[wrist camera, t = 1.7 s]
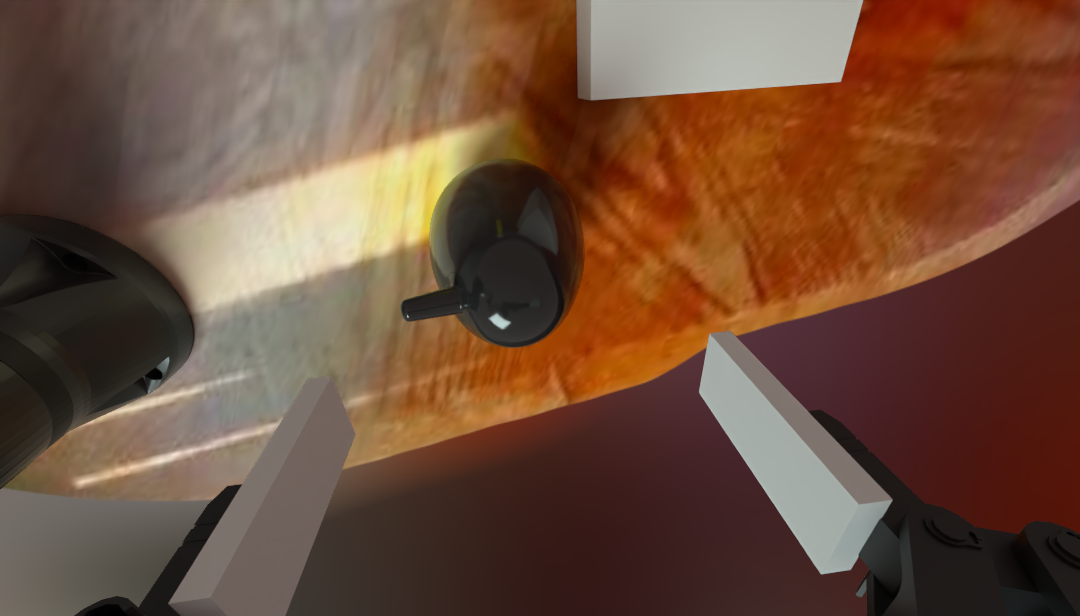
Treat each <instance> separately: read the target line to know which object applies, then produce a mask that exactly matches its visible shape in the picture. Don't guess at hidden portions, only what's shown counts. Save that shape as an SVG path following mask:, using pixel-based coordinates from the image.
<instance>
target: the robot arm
mask: <svg viewBox="0 0 1080 616" xmlns="http://www.w3.org/2000/svg"><path fill="white" fill-rule="evenodd" d="M192 344H193V329H192V324H191V320H190V317H189V314H188V312H187V309H186V307H185V305H184V303H183V302H182V300H181V298H180V297H179V295H178V294H177V292H176V291H175V290H174V288H173V287H172V286H171V285H170V284H169V282H168V281H167V280H166V279H165V278H164V277H163V276H162V275H161V274H160V273H159V272H158V271H157V270H156V269H155V268H154V267H152V266H151V265H150V264H149V263H148V262H146V261H145V260H144V259H142V258H141V257H140V256H138V255H137V254H136V253H134V252H133V251H131V250H129V249H128V248H126V247H125V246H123V245H121V244H119V243H118V242H116V241H114V240H112V239H110V238H108V237H106V236H104V235H102V234H100V233H98V232H95V231H93V230H90V229H88V228H85V227H82V226H79V225H76V224H73V223H70V222H66V221H62V220H58V219H53V218H48V217H41V216H33V215H5V216H0V489H1V488H2V487H4V486H5V485H6V484H7V483H8V482H9V481H11V480H12V479H13V478H14V477H15V476H16V475H18V474H19V473H20V472H21V471H22V470H23V469H25V468H26V467H27V466H28V465H29V464H30V463H32V462H33V461H34V460H35V459H36V458H37V457H39V456H40V455H41V454H42V453H43V452H44V451H45V450H46V449H48V448H49V447H50V446H51V445H52V444H54V443H55V442H56V441H57V440H59V439H60V438H61V437H62V436H64V435H65V434H66V433H67V432H68V431H70V430H72V429H74V428H77V427H79V426H81V425H83V424H85V423H87V422H90V421H92V420H94V419H96V418H98V417H100V416H103V415H105V414H107V413H109V412H111V411H113V410H116V409H118V408H120V407H122V406H124V405H127V404H129V403H131V402H133V401H135V400H137V399H140V398H142V397H144V396H146V395H148V394H150V393H151V392H153V391H154V390H156V389H157V388H159V387H160V386H161V385H163V384H164V383H165V382H166V381H167V380H168V379H169V378H170V377H171V376H172V375H173V374H175V373H176V372H177V371H178V370H179V369H180V368H181V367H182V366H183V364H184V363H185V362H186V360H187V359H188V357H189V354H190V352H191V349H192ZM699 393H700V395H701V396H702V398H703V399H704V401H705V402H706V404H707V405H708V407H709V408H710V410H711V411H712V413H713V414H714V415H715V417H716V419H717V420H718V422H719V423H720V424H721V426H722V427H723V429H724V430H725V432H726V433H727V435H728V436H729V438H730V439H731V441H732V442H733V444H734V445H735V447H736V448H737V450H738V451H739V453H740V454H741V456H742V457H743V459H744V460H745V461H746V463H747V465H748V466H749V468H750V469H751V471H752V472H753V474H754V475H755V476H756V478H757V479H758V481H759V483H760V484H761V485H762V487H763V489H764V490H765V492H766V493H767V494H768V496H769V497H770V499H771V500H772V502H773V503H774V505H775V506H776V508H777V509H778V511H779V512H780V514H781V515H782V517H783V518H784V520H785V521H786V523H787V524H788V526H789V527H790V529H791V530H792V532H793V533H794V535H795V536H796V538H797V539H798V541H799V542H800V544H801V545H802V546H803V548H804V549H805V551H806V552H807V554H808V556H809V557H810V558H811V560H812V561H813V563H814V564H815V566H816V567H817V569H818V570H819V572H820V573H821V574H826V573H832V572H839V571H846V570H851V568H852V566H853V564H854V563H855V561H856V560H857V558H858V557H859V556H860V557H861V559H862V560H863V561H864V563H865V564H866V565H867V567H868V568H869V571H868V572H867V574H866V576H865V577H864V579H863V580H862V582H861V583H860V585H859V586H858V589H857V592H856V595H857V596H859V597H862V596H863V594H864V592H865V591H866V592H867V616H1080V534H1079V533H1077V532H1075V531H1073V530H1071V529H1069V528H1066V527H1063V526H1060V525H1057V524H1054V523H1051V522H1041V521H1035V522H1032V523H1029V524H1027V525H1026V526H1025V527H1024V528H1023V529H1022V530H1021V531H1020V532H1019V533H1018V534H1015V533H1009V532H1003V531H996V530H990V529H984V528H978V527H974V526H973V525H972V524H970V523H969V522H967V521H966V520H965V519H963V518H962V517H960V516H959V515H957V514H955V513H953V512H951V511H949V510H947V509H945V508H942V507H938V506H935V505H931V504H925V503H924V502H923V501H922V500H920V499H919V498H918V497H917V496H916V495H915V494H914V493H913V492H912V491H911V490H910V489H909V488H908V487H907V486H906V485H905V484H904V483H903V482H902V481H901V480H900V479H899V478H898V477H897V476H895V475H894V474H893V473H892V472H891V471H890V470H889V469H888V468H887V467H886V466H885V465H884V464H883V463H882V462H881V461H880V460H879V459H878V458H877V457H876V456H875V455H874V454H873V453H872V452H869V451H868V448H867V447H865V445H863V443H861V442H860V441H859V440H856V438H855V436H854V435H853V434H852V433H851V432H850V431H849V430H848V429H847V428H846V427H845V426H844V425H843V424H842V423H841V422H839V421H838V420H836V419H835V418H833V417H831V416H829V415H828V414H826V413H825V412H823V411H821V410H815V411H807V410H806V409H805V408H804V407H803V406H802V405H801V404H800V403H799V402H798V401H797V400H796V399H795V398H794V397H793V396H792V395H791V393H789V391H787V389H786V388H785V387H784V386H783V385H782V384H781V383H780V382H779V381H778V380H777V379H776V378H775V377H774V376H773V375H772V374H771V373H770V372H769V371H768V370H767V369H766V368H765V367H764V366H763V365H762V363H761V362H760V361H759V360H758V359H757V358H756V357H755V356H754V355H753V354H752V353H751V352H750V351H749V350H748V349H747V348H746V347H745V346H744V345H743V344H742V343H741V342H740V341H739V340H738V339H737V338H736V336H735V335H734V334H733V333H732V332H731V331H728V332H719V333H710V334H709V340H708V345H707V351H706V356H705V362H704V368H703V374H702V379H701V384H700V390H699ZM354 437H355V432H354V429H353V427H352V425H351V422H350V420H349V417H348V415H347V412H346V410H345V408H344V405H343V403H342V400H341V398H340V395H339V393H338V390H337V388H336V386H335V383H334V381H333V378H332V376H328V377H319V378H310V379H308V380H307V381H306V383H305V385H304V386H303V388H302V389H301V391H300V393H299V394H298V396H297V397H296V399H295V401H294V402H293V404H292V405H291V407H290V409H289V410H288V412H287V413H286V415H285V417H284V418H283V420H282V421H281V423H280V425H279V426H278V428H277V430H276V431H275V433H274V434H273V436H272V438H271V439H270V441H269V442H268V444H267V446H266V447H265V449H264V450H263V452H262V454H261V455H260V457H259V458H258V460H257V462H256V463H255V465H254V466H253V468H252V470H251V471H250V473H249V475H248V476H247V478H246V479H245V481H244V483H243V484H241V485H233V486H227V487H226V488H225V489H224V490H223V491H222V492H221V493H220V494H219V495H218V496H217V497H215V498H214V499H213V501H211V502H210V503H209V504H208V505H207V507H206V508H205V510H204V511H203V513H202V514H201V515H200V517H199V518H198V520H197V521H196V523H195V525H194V529H191V530H190V532H189V533H188V535H187V536H186V538H185V539H184V541H183V542H182V543H183V545H182V546H181V547H179V548H178V550H177V551H176V553H175V554H174V556H173V557H172V559H171V560H170V561H169V563H168V564H167V566H166V567H165V569H164V570H163V572H162V573H161V575H160V576H159V578H158V579H157V581H156V582H155V584H154V585H153V587H152V588H151V590H150V591H149V593H148V594H147V596H146V597H145V599H144V600H143V602H142V603H141V604H140V606H139V607H137V606H136V605H135V604H134V603H132V602H131V601H130V600H129V599H128V598H123V597H119V596H116V597H112V598H107V599H103V600H100V601H98V602H96V603H94V604H92V605H91V606H88V607H87V608H85V609H83V610H81V611H80V612H79V613H77V614H76V615H75V616H285V614H286V612H287V609H288V607H289V604H290V602H291V599H292V596H293V594H294V591H295V589H296V586H297V584H298V581H299V578H300V576H301V573H302V571H303V568H304V566H305V563H306V560H307V558H308V555H309V553H310V550H311V547H312V545H313V542H314V540H315V537H316V534H317V532H318V529H319V527H320V524H321V522H322V519H323V517H324V514H325V512H326V509H327V506H328V504H329V501H330V498H331V496H332V494H333V491H334V488H335V486H336V483H337V481H338V478H339V475H340V473H341V470H342V468H343V465H344V463H345V460H346V457H347V455H348V452H349V450H350V447H351V445H352V442H353V439H354Z"/></svg>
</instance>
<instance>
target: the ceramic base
mask: <svg viewBox="0 0 1080 616" xmlns="http://www.w3.org/2000/svg"><path fill="white" fill-rule="evenodd" d="M576 3H577V88H578V98H580V99H586V100H603V99H616V98H630V97H643V96H657V95H670V94H684V93H697V92H710V91H724V90H737V89H751V88H764V87H778V86H791V85H805V84H818V83H832V82H841V79H842V76H843V72H844V68H845V65H846V61H847V58H848V54H849V50H850V47H851V43H852V39H853V36H854V32H855V29H856V25H857V21H858V18H859V14H860V10H861V7H862V3H863V0H576Z"/></svg>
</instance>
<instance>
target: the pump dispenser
mask: <svg viewBox="0 0 1080 616" xmlns="http://www.w3.org/2000/svg"><path fill="white" fill-rule="evenodd" d="M429 249H430V259H431V265H432V269H433V273H434V276H435V280H436V282H437V285H438V287H439V289H438V290H435V291H432V292H428V293H425V294H421V295H418V296H414V297H411V298H407V299H404V300H403V301H402V302H401V306H400V308H401V314H402V316H403V318H404V319H405V320H406V321H408V322H411V321H417V320H423V319H430V318H436V317H443V316H449V315H455V316H456V317H457V319H458V320H459V321H460V322H461V323H462V324H463V325H464V327H465V328H466V329H468V330H469V331H470V332H471V333H472V334H474V335H475V336H476V337H478V338H480V339H481V340H483V341H485V342H487V343H490V344H492V345H495V346H499V347H504V348H522V347H527V346H530V345H533V344H536V343H538V342H540V341H542V340H543V339H545V338H547V337H548V336H549V335H551V334H552V333H553V332H554V331H555V330H556V329H557V328H558V327H559V326H560V325H561V323H562V322H563V321H564V319H565V318H566V316H567V315H568V313H569V311H570V309H571V308H572V305H573V303H574V301H575V299H576V296H577V294H578V291H579V288H580V284H581V280H582V276H583V270H584V260H585V247H584V237H583V231H582V226H581V222H580V218H579V215H578V212H577V209H576V207H575V205H574V203H573V201H572V199H571V197H570V196H569V194H568V192H567V191H566V190H565V188H564V187H563V186H562V185H561V183H560V182H559V181H558V180H557V179H556V178H555V177H553V176H552V175H551V174H550V173H548V172H547V171H545V170H544V169H542V168H540V167H538V166H536V165H534V164H531V163H529V162H526V161H522V160H517V159H492V160H487V161H483V162H480V163H478V164H475V165H473V166H471V167H469V168H467V169H465V170H464V171H462V172H461V173H459V174H458V175H457V176H456V177H455V178H454V179H452V181H451V182H450V183H449V184H448V185H447V186H446V187H445V189H444V190H443V192H442V193H441V195H440V197H439V199H438V201H437V203H436V205H435V208H434V211H433V214H432V218H431V223H430V231H429Z"/></svg>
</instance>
